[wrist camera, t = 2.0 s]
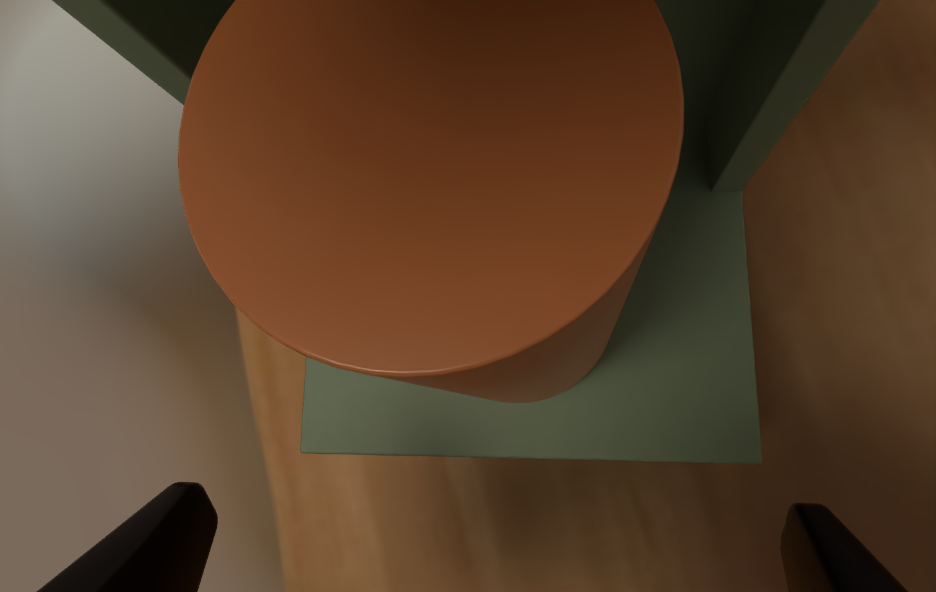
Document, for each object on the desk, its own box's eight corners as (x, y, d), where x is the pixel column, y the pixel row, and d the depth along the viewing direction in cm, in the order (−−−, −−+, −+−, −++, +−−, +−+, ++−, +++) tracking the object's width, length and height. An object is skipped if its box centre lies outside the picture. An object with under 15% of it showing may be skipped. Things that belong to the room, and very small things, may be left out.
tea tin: (639, 374, 16) (767, 288, 5) (447, 425, 17) (215, 439, 6) (582, 191, 17) (592, -179, 6) (404, 245, 18) (146, -15, 7)
